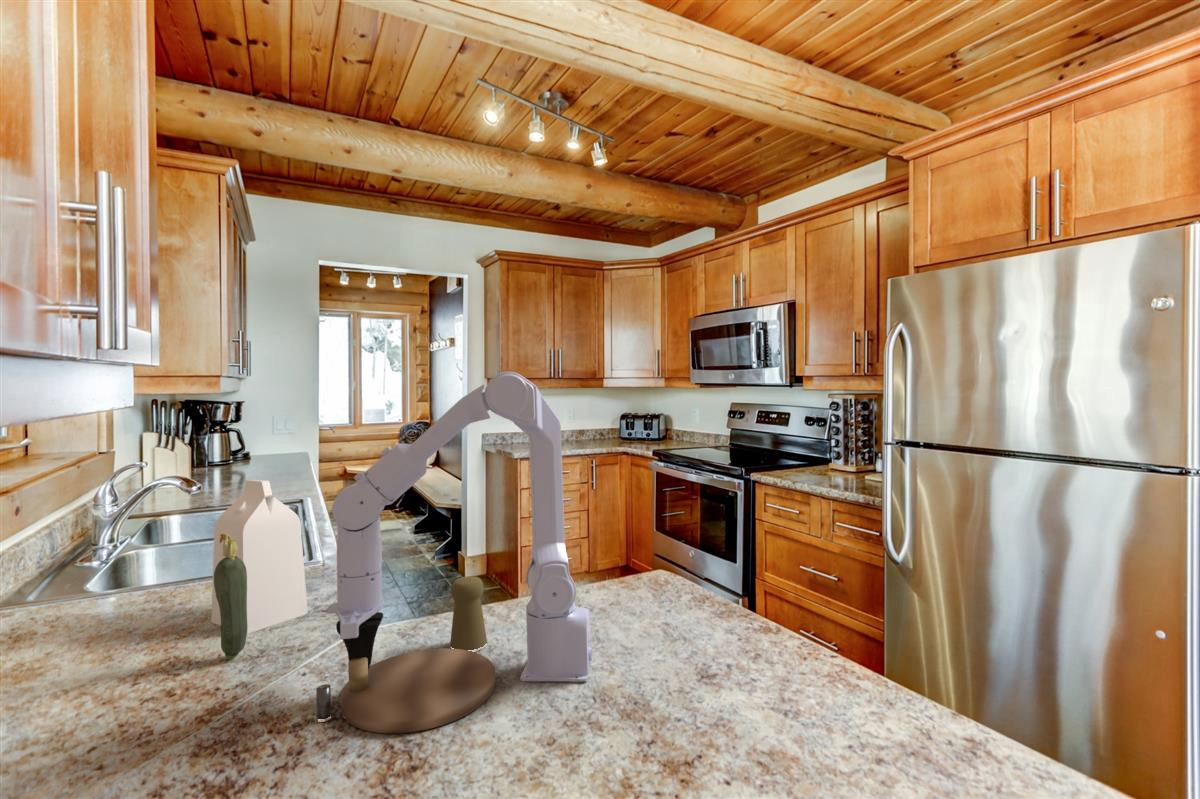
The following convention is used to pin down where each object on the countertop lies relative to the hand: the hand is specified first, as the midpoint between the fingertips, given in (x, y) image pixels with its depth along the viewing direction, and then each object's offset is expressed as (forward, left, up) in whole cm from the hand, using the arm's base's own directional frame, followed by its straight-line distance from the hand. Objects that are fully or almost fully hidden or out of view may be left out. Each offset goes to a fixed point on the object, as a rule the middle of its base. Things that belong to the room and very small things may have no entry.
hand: (360, 670), depth 78 cm
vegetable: (+26, -10, -3) cm, 28 cm away
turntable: (-8, -1, -3) cm, 9 cm away
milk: (+34, -28, -3) cm, 44 cm away
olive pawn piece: (-10, -16, -3) cm, 19 cm away
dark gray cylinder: (-6, 0, -3) cm, 7 cm away
